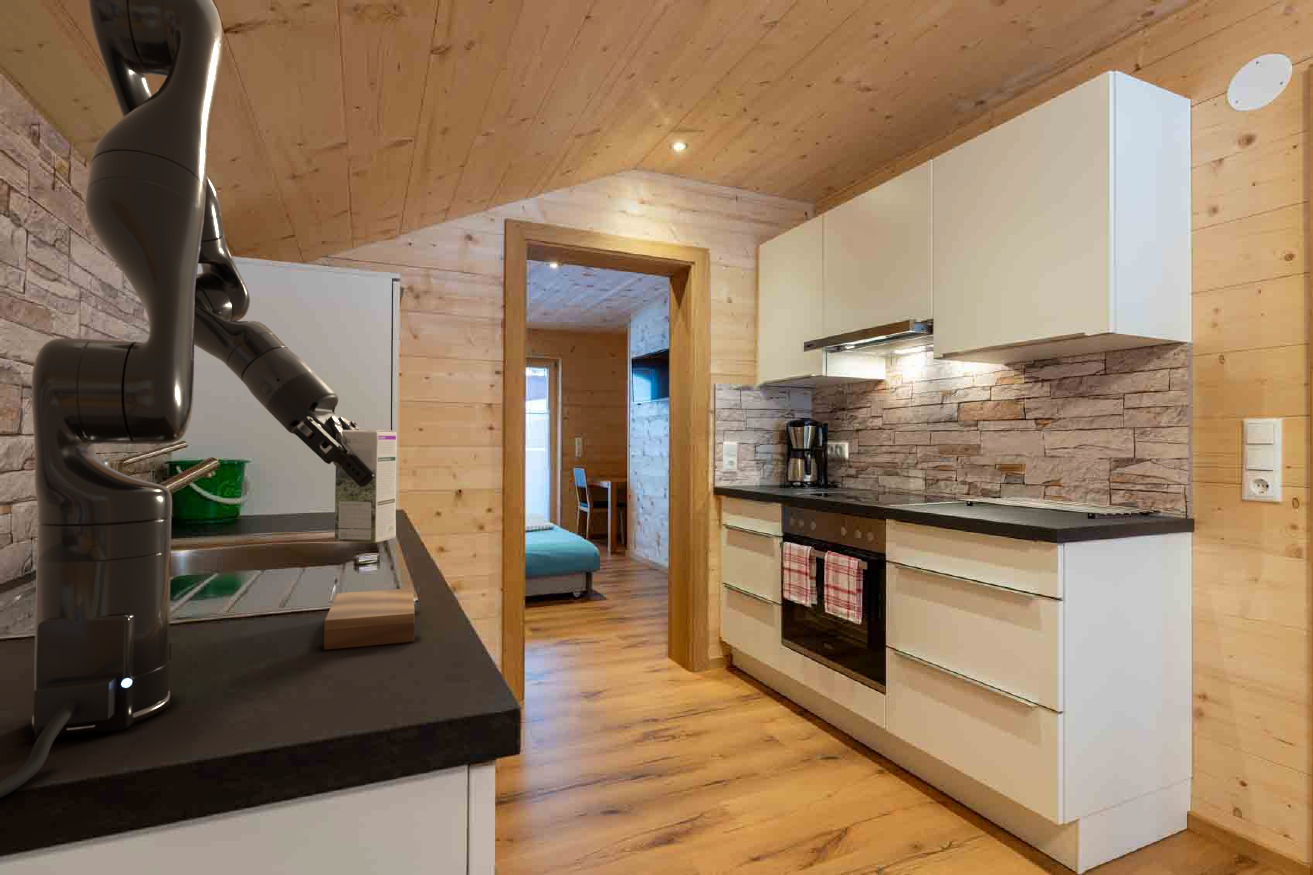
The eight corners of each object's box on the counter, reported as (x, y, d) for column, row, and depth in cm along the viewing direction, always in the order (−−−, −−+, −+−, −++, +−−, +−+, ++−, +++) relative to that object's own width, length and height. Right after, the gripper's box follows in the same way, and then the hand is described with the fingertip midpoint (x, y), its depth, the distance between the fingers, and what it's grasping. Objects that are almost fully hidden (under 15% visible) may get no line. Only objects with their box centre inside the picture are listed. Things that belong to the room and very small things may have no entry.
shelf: (414, 641, 82) (414, 613, 83) (324, 650, 79) (324, 620, 79) (412, 612, 97) (413, 588, 98) (336, 618, 94) (337, 593, 94)
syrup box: (397, 537, 91) (398, 430, 91) (374, 543, 85) (376, 429, 85) (357, 536, 92) (358, 430, 92) (332, 542, 86) (334, 428, 86)
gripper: (281, 363, 81) (378, 462, 81) (336, 376, 96) (418, 460, 96) (237, 407, 81) (333, 505, 81) (298, 413, 96) (381, 497, 96)
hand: (379, 480), depth 88 cm, fingers closed on syrup box, 6 cm apart
